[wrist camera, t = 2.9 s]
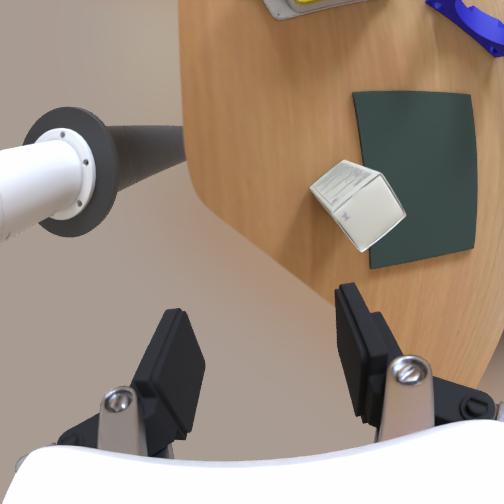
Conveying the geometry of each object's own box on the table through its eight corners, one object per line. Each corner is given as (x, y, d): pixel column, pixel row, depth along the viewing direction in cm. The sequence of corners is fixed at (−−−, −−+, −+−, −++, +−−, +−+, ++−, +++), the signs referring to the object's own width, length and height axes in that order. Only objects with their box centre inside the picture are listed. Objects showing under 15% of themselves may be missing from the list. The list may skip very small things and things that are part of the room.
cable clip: (498, 35, 19) (525, 29, 14) (494, 57, 21) (523, 53, 16) (430, -19, 18) (453, -35, 13) (425, 2, 20) (450, -13, 14)
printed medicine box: (331, 218, 31) (358, 256, 22) (307, 187, 30) (326, 213, 21) (368, 189, 30) (409, 216, 21) (345, 157, 29) (381, 170, 19)
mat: (369, 268, 33) (370, 269, 33) (352, 92, 26) (353, 92, 25) (472, 247, 32) (474, 248, 31) (468, 94, 24) (470, 94, 24)
